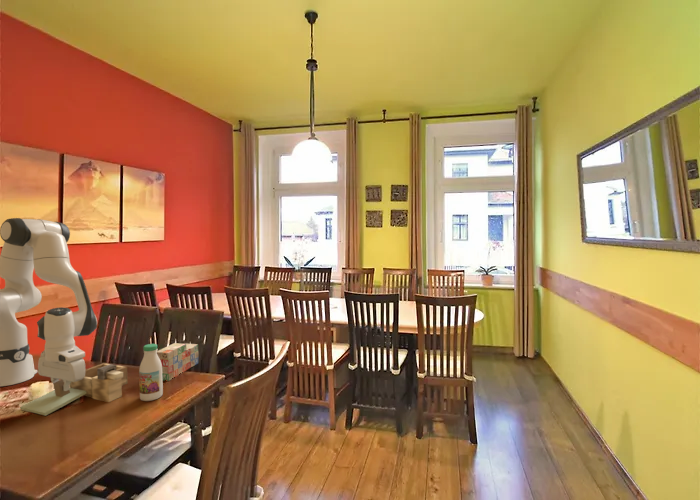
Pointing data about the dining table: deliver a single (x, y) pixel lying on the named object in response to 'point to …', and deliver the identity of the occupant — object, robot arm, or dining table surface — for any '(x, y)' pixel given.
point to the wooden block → (113, 374)
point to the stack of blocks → (177, 359)
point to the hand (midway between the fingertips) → (61, 389)
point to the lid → (53, 399)
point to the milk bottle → (150, 374)
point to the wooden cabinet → (101, 382)
